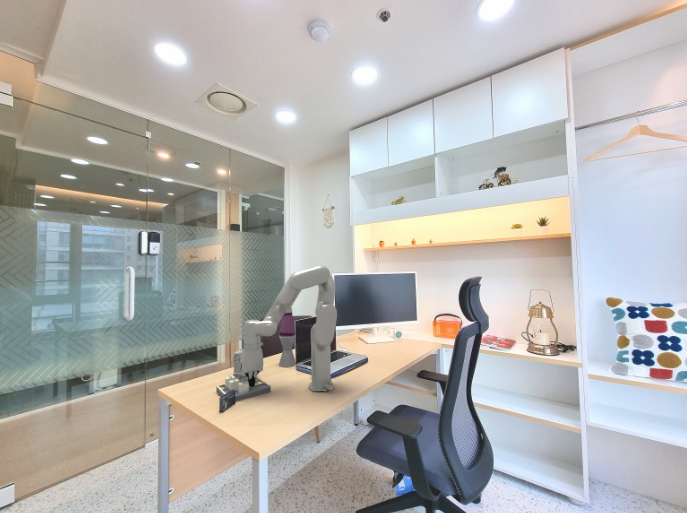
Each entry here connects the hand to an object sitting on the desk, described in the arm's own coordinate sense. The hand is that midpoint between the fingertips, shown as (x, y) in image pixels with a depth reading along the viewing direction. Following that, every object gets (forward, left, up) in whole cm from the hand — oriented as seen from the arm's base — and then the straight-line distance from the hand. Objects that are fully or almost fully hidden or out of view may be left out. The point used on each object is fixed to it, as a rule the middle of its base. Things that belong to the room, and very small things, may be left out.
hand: (251, 385), depth 135 cm
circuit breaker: (+22, -6, -4) cm, 23 cm away
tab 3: (0, +4, -2) cm, 4 cm away
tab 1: (+11, +6, -2) cm, 13 cm away
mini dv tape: (-6, +13, -4) cm, 15 cm away
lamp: (+27, -34, -4) cm, 44 cm away
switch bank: (+5, +2, -4) cm, 7 cm away
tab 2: (+5, +6, -2) cm, 9 cm away
